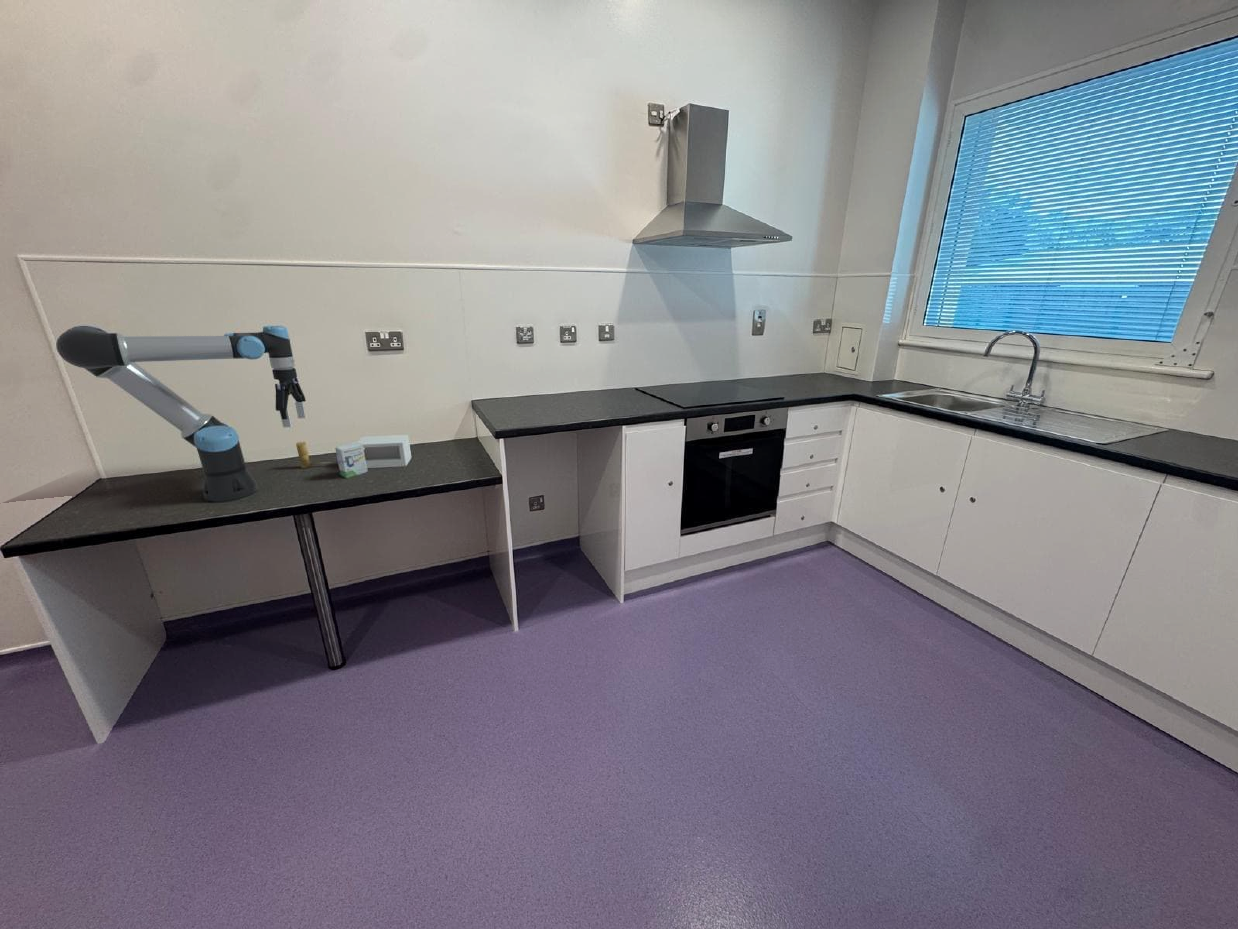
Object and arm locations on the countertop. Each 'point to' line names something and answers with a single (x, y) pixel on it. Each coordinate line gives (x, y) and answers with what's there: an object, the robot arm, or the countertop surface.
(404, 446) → the box
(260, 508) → the countertop surface
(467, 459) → the countertop surface
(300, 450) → the corded block
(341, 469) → the ink box
